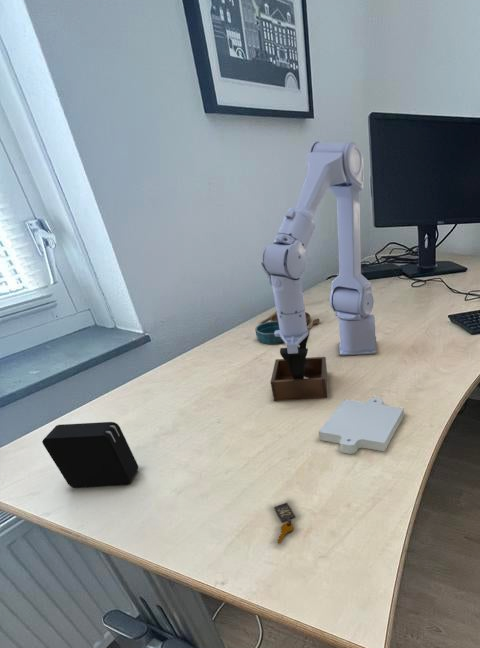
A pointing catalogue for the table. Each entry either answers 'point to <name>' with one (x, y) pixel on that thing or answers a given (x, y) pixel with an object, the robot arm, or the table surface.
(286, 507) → the key tag
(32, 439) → the table surface
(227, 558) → the table surface
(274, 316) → the place setting
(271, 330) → the bowl
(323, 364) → the box
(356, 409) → the mounting plate
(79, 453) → the electronic device
